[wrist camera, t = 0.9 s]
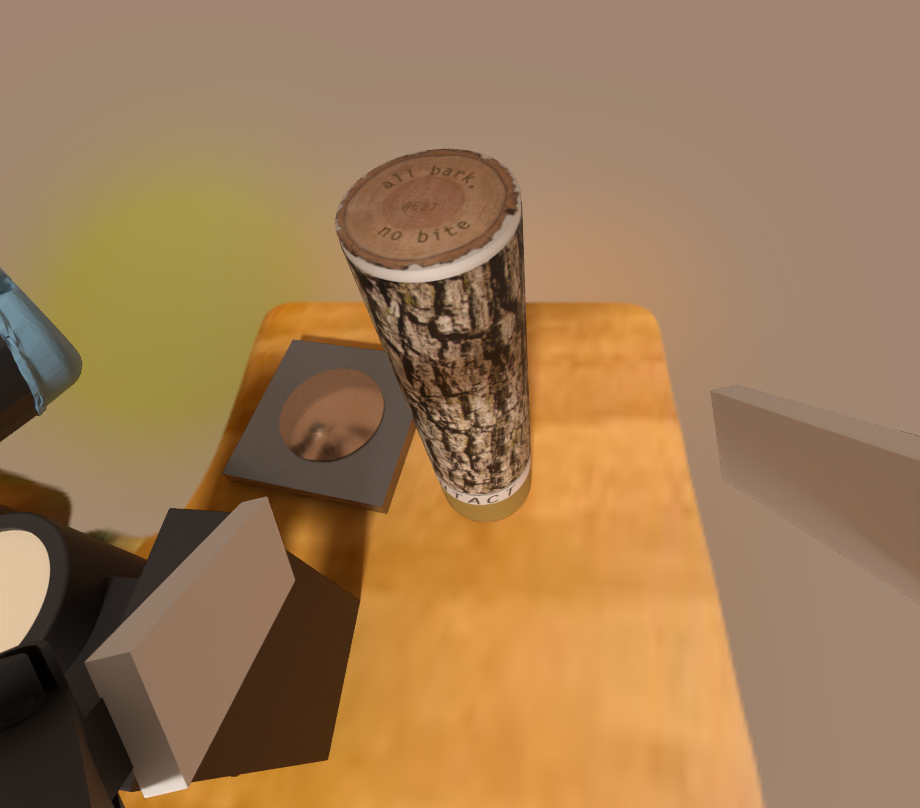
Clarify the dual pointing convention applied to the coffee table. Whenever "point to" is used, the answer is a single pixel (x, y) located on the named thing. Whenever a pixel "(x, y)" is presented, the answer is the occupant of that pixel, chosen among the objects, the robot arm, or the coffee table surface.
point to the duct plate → (328, 428)
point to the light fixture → (133, 580)
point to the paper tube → (450, 314)
